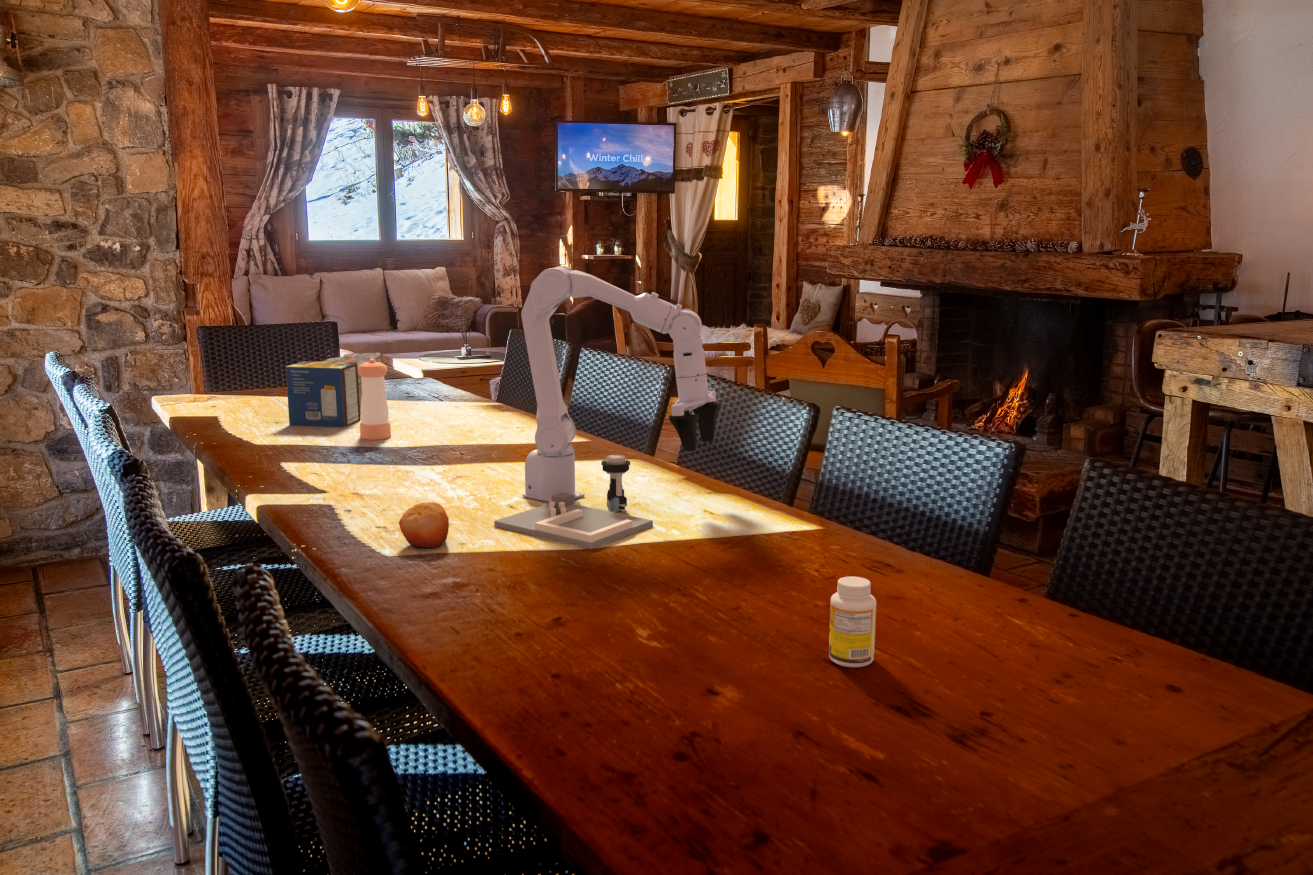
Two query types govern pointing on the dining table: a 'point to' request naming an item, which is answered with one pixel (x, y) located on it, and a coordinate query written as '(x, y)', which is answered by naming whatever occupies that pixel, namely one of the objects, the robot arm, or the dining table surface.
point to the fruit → (425, 525)
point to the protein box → (323, 394)
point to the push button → (616, 481)
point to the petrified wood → (360, 360)
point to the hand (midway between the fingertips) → (699, 445)
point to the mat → (573, 524)
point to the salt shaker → (373, 402)
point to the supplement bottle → (852, 623)
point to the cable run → (560, 503)
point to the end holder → (552, 527)
